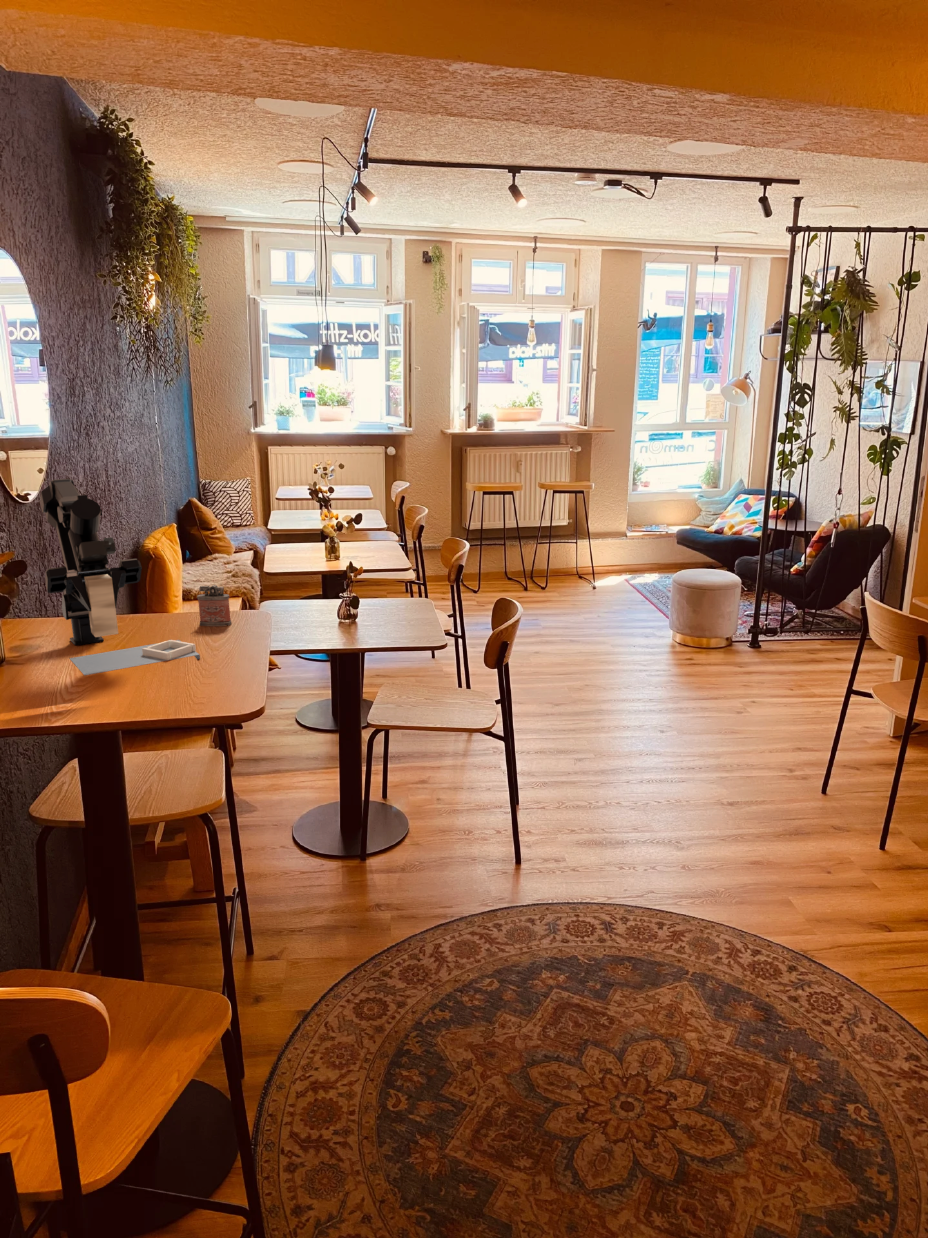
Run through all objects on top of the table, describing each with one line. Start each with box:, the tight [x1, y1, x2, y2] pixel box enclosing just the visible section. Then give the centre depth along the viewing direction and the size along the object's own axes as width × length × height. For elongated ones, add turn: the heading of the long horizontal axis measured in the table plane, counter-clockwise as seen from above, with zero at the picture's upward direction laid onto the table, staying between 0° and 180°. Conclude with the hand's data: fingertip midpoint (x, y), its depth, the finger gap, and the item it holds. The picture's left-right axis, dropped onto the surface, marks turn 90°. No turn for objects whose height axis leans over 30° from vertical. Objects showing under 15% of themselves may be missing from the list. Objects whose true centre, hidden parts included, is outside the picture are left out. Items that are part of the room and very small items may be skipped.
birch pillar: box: [84, 574, 119, 637], centre depth 189 cm, size 5×5×12 cm
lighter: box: [196, 584, 232, 627], centre depth 226 cm, size 8×3×10 cm, turn 84°
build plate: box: [69, 639, 201, 676], centre depth 198 cm, size 15×24×1 cm, turn 124°
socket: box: [142, 639, 197, 661], centre depth 200 cm, size 8×8×2 cm
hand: (103, 608), depth 188 cm, fingers closed on birch pillar, 5 cm apart
